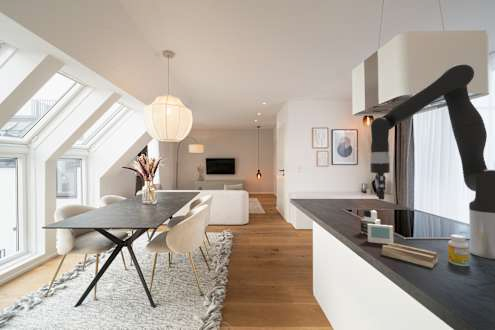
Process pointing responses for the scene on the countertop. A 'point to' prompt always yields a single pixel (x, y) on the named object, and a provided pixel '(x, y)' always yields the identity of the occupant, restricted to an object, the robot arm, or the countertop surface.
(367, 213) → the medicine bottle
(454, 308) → the countertop surface
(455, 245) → the supplement bottle
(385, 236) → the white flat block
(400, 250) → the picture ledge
